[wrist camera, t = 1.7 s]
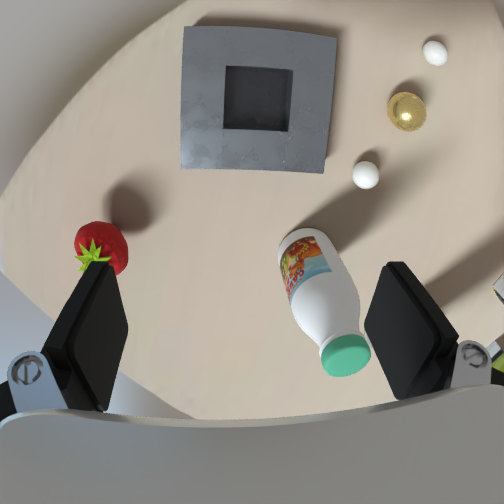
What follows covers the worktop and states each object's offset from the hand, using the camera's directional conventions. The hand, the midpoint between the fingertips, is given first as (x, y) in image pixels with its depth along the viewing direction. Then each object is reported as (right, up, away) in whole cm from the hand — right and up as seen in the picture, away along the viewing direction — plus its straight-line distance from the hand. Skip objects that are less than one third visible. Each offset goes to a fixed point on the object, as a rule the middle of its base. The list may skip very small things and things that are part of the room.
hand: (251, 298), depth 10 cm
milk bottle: (+7, +2, +33) cm, 34 cm away
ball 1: (+14, +11, +26) cm, 31 cm away
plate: (0, +19, +22) cm, 29 cm away
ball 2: (+23, +26, +17) cm, 39 cm away
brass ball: (+19, +18, +21) cm, 33 cm away
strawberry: (-18, +5, +29) cm, 35 cm away
